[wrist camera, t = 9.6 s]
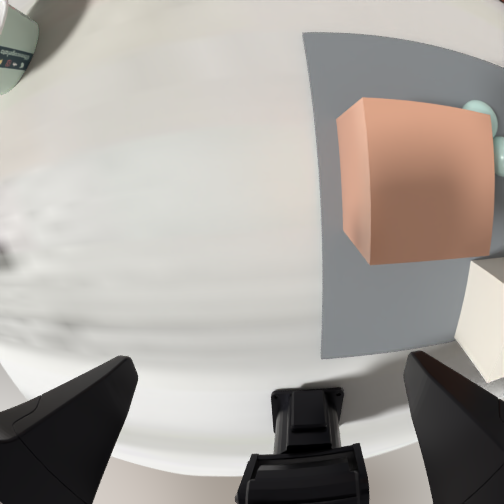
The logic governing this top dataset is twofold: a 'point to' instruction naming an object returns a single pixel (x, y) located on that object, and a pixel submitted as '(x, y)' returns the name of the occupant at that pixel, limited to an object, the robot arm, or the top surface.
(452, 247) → the salmon pink cube
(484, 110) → the marble
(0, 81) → the food container
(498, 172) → the marble
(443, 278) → the mat
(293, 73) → the top surface
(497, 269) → the ivory rectangular chunk
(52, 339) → the top surface
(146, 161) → the top surface
